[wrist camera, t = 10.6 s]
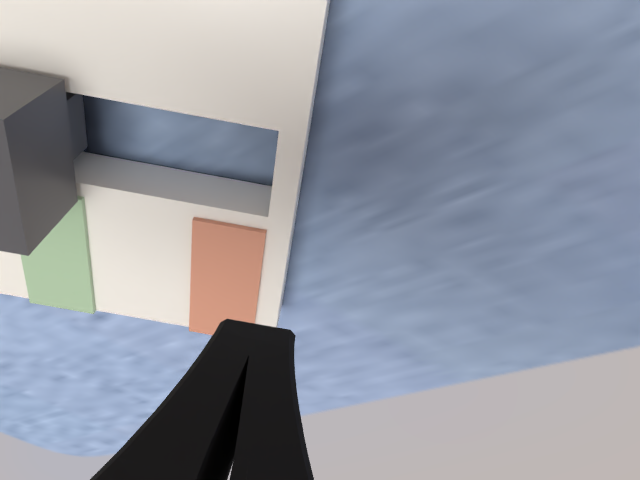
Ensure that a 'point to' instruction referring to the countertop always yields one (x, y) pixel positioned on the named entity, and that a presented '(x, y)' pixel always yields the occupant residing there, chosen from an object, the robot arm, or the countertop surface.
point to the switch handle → (36, 156)
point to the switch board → (163, 182)
